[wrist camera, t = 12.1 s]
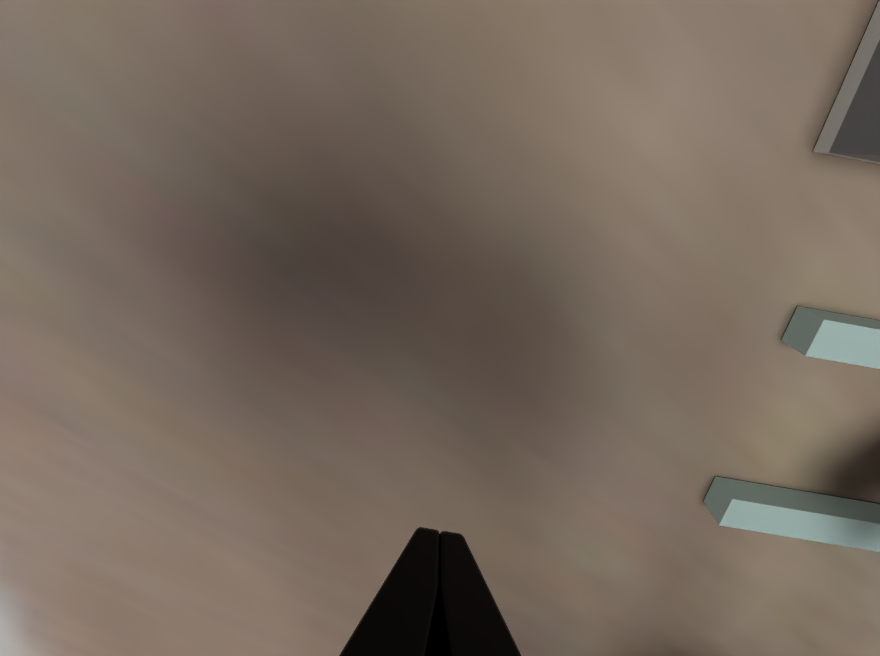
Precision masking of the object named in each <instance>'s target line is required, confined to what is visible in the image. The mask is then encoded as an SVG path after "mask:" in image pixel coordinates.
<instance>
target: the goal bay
mask: <svg viewBox="0 0 880 656" xmlns="http://www.w3.org/2000/svg"><path fill="white" fill-rule="evenodd" d="M782 341H783V342H785V343H787V344H788V345H790V346H791V347H793V348H794V349H796V350H797V351H799V352H800V353H802V354H803V355H805V356H809V357H815V358H821V359H826V360H832V361H838V362H843V363H849V364H854V365H860V366H866V367H871V368H877V369H880V321H878V320H872V319H867V318H861V317H856V316H850V315H845V314H839V313H834V312H828V311H822V310H817V309H811V308H806V307H800V306H797V309H796V311H795V313H794V315H793V317H792V319H791V321H790V323H789V325H788V327H787V329H786V331H785V333H784V335H783V338H782ZM703 502H704V503H705V505H706V506H707V508H708V509H709V511H710V512H711V514H712V515H713V517H714V518H715V520H716V521H717V523H718V525H720V526H726V527H732V528H738V529H744V530H750V531H756V532H762V533H768V534H774V535H780V536H786V537H792V538H798V539H804V540H810V541H816V542H822V543H828V544H834V545H840V546H846V547H852V548H858V549H864V550H870V551H876V552H880V504H876V503H870V502H864V501H858V500H852V499H846V498H840V497H834V496H829V495H823V494H817V493H811V492H805V491H799V490H793V489H787V488H781V487H775V486H770V485H764V484H758V483H752V482H746V481H740V480H734V479H728V478H722V477H716V476H715V478H714V481H713V483H712V485H711V487H710V489H709V491H708V493H707V495H706V497H705V499H704V501H703Z"/></svg>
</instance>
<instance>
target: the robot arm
mask: <svg viewBox="0 0 880 656" xmlns="http://www.w3.org/2000/svg"><path fill="white" fill-rule="evenodd" d="M339 656H521V654H520V652H519V650H518V648H517V646H516V644H515V642H514V640H513V637H512V635H511V633H510V631H509V629H508V627H507V625H506V623H505V621H504V619H503V617H502V615H501V613H500V611H499V609H498V607H497V604H496V602H495V600H494V598H493V596H492V594H491V592H490V590H489V588H488V586H487V584H486V582H485V580H484V578H483V576H482V574H481V571H480V569H479V567H478V565H477V563H476V561H475V559H474V557H473V555H472V553H471V551H470V549H469V547H468V545H467V543H466V540H465V539H464V537H463V535H461V534H459V533H453V532H447V531H442V532H441V533H440V534H439V531H438V530H434V529H428V528H422V527H419V528H417V529H416V531H415V532H414V534H413V535H412V537H411V539H410V540H409V542H408V544H407V545H406V547H405V549H404V550H403V552H402V554H401V555H400V557H399V558H398V560H397V562H396V563H395V565H394V567H393V568H392V570H391V572H390V573H389V575H388V577H387V578H386V580H385V581H384V583H383V585H382V586H381V588H380V590H379V591H378V593H377V595H376V596H375V598H374V599H373V601H372V603H371V604H370V606H369V608H368V609H367V611H366V613H365V614H364V616H363V618H362V619H361V621H360V622H359V624H358V626H357V627H356V629H355V631H354V632H353V634H352V636H351V637H350V639H349V641H348V642H347V644H346V645H345V647H344V649H343V650H342V652H341V654H340V655H339Z"/></svg>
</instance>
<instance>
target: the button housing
mask: <svg viewBox="0 0 880 656" xmlns="http://www.w3.org/2000/svg"><path fill="white" fill-rule="evenodd" d="M813 152H817V153H822V154H828V155H833V156H838V157H843V158H849V159H854V160H859V161H865V162H870V163H875V164H880V0H879V2H878V4H877V6H876V9H875V11H874V13H873V16H872V18H871V20H870V22H869V25H868V27H867V29H866V31H865V34H864V36H863V38H862V41H861V43H860V45H859V47H858V50H857V52H856V54H855V57H854V59H853V61H852V63H851V66H850V68H849V70H848V73H847V75H846V77H845V79H844V82H843V84H842V86H841V89H840V91H839V93H838V95H837V98H836V100H835V102H834V104H833V107H832V109H831V111H830V114H829V116H828V118H827V120H826V123H825V125H824V127H823V130H822V132H821V134H820V136H819V139H818V141H817V143H816V146H815V148H814V150H813Z"/></svg>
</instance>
